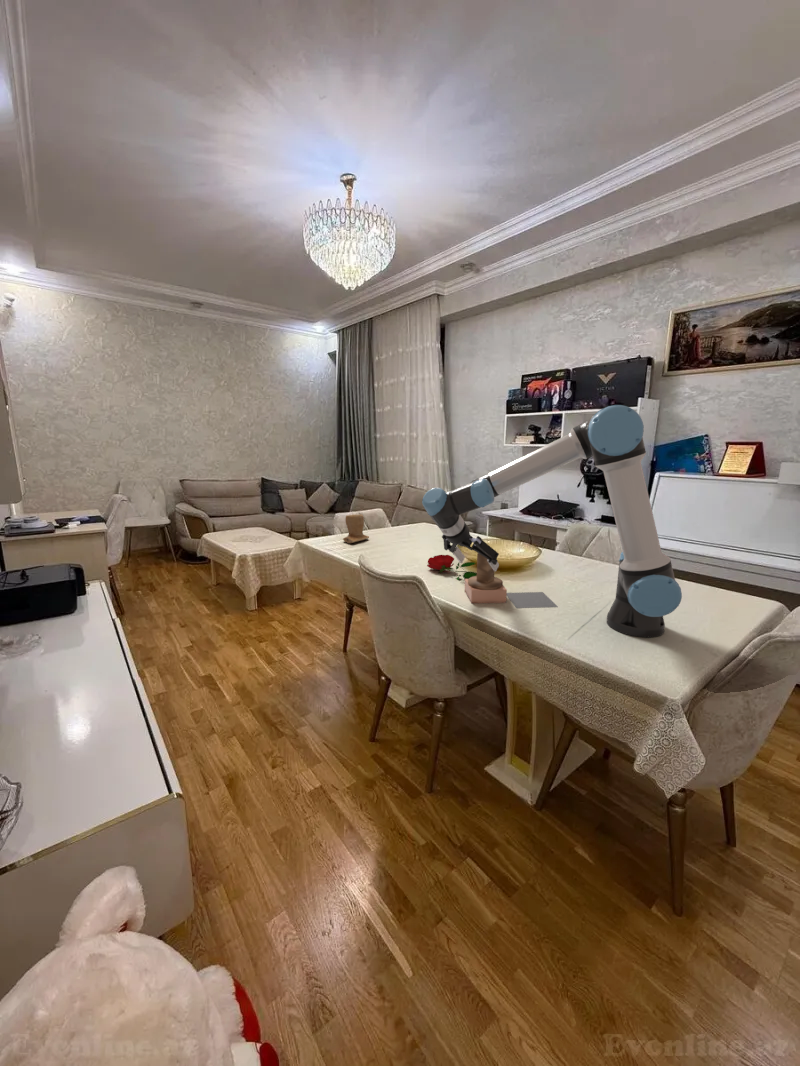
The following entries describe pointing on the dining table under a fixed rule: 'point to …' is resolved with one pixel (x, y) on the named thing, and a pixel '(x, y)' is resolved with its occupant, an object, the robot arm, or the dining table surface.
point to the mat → (530, 600)
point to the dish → (485, 594)
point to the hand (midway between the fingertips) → (479, 563)
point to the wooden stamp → (355, 528)
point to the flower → (449, 565)
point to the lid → (484, 576)
